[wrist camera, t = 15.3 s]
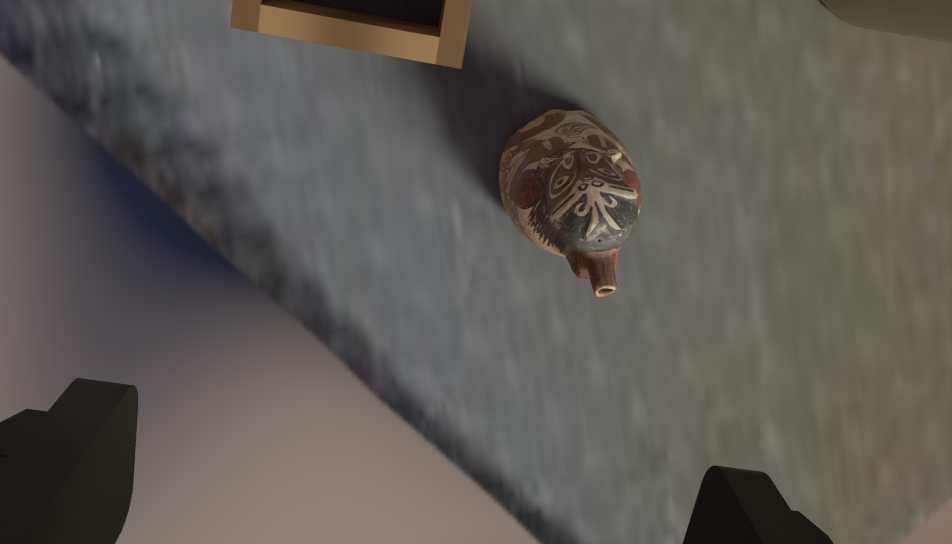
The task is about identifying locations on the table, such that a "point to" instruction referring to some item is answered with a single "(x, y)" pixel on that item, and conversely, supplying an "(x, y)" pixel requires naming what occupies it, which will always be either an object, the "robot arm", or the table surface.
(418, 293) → the table surface
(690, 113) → the table surface
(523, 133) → the figurine
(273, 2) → the square holder
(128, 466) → the robot arm
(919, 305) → the table surface
